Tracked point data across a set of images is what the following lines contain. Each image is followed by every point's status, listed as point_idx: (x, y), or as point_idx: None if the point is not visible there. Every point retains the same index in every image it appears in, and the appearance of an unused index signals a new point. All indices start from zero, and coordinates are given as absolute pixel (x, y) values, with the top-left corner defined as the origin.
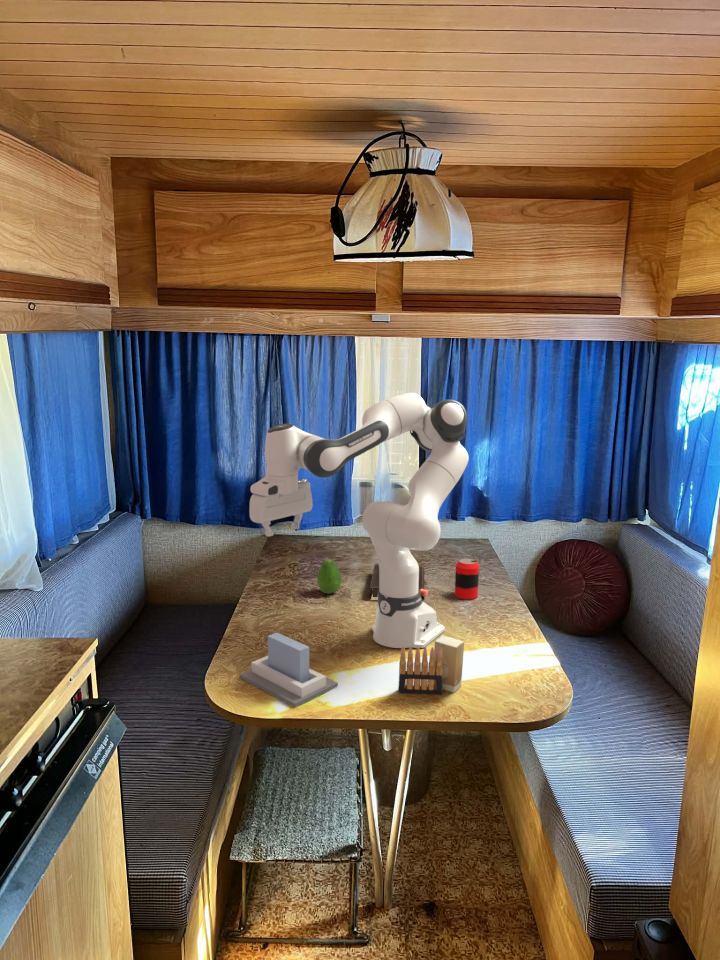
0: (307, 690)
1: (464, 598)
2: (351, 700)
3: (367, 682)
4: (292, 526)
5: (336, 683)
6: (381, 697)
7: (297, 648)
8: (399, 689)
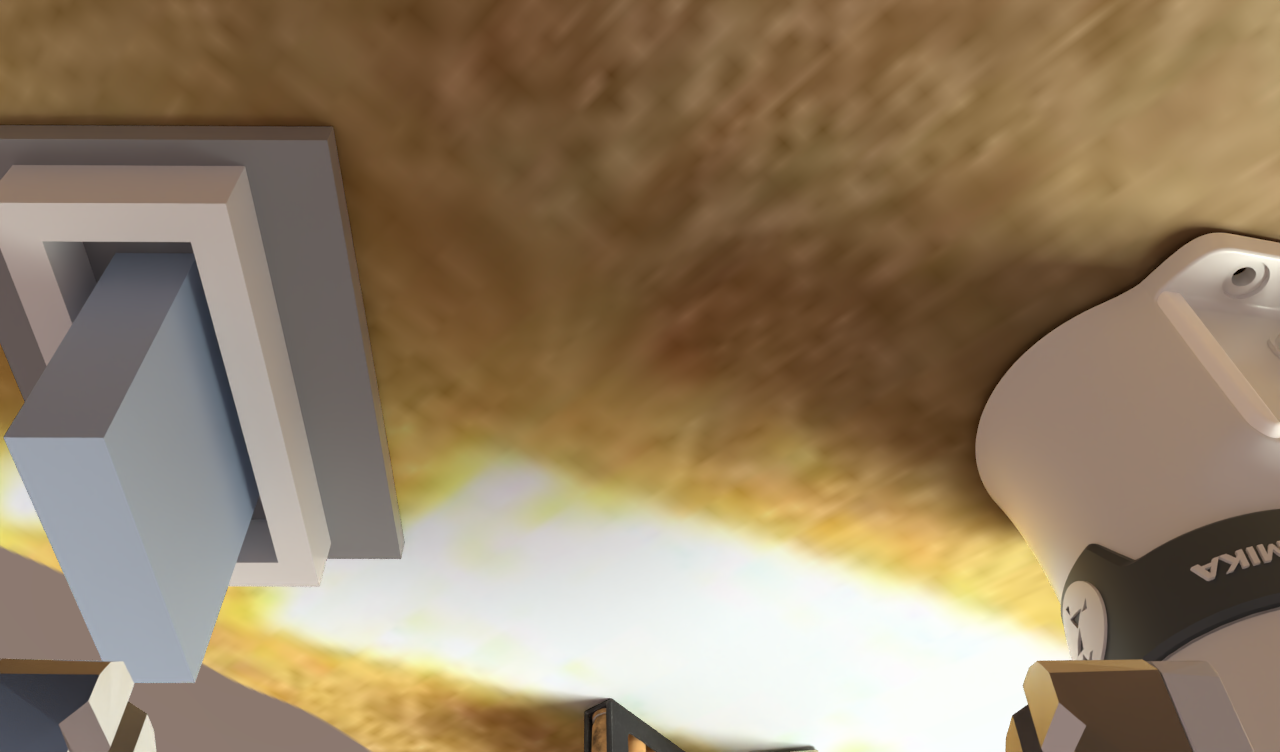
0: None
1: None
2: (372, 639)
3: (554, 597)
4: (1057, 745)
5: (392, 558)
6: (499, 691)
7: (113, 660)
8: (585, 731)
